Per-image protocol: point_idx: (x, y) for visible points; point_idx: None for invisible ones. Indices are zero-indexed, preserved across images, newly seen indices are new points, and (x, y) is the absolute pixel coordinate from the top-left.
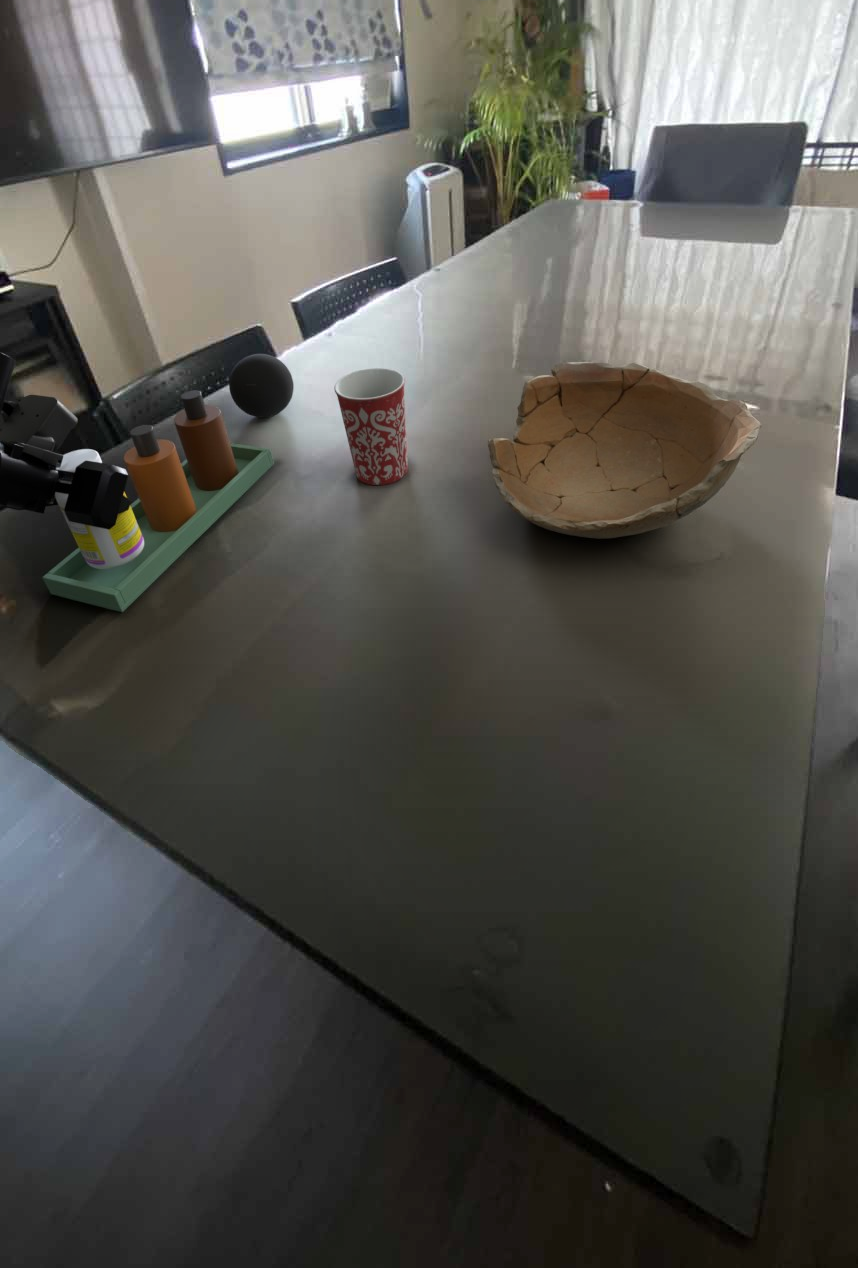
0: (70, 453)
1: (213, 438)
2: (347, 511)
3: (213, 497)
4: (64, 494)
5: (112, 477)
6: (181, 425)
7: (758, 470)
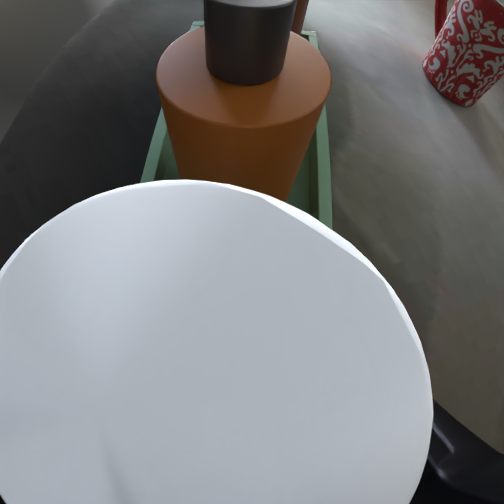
0: (10, 306)
1: (302, 17)
2: (472, 152)
3: (319, 141)
4: None
5: None
6: None
7: None
